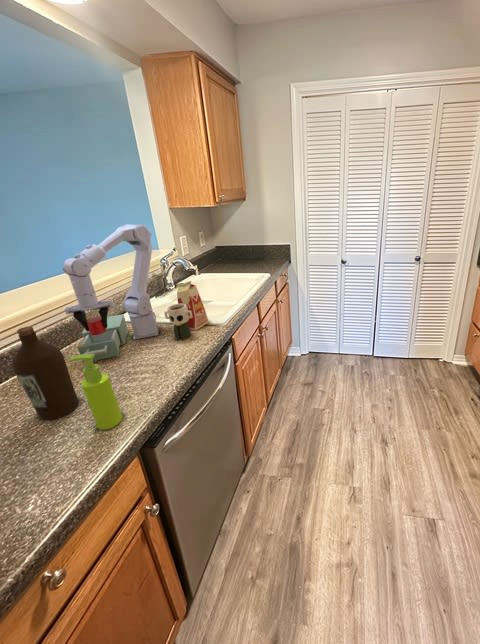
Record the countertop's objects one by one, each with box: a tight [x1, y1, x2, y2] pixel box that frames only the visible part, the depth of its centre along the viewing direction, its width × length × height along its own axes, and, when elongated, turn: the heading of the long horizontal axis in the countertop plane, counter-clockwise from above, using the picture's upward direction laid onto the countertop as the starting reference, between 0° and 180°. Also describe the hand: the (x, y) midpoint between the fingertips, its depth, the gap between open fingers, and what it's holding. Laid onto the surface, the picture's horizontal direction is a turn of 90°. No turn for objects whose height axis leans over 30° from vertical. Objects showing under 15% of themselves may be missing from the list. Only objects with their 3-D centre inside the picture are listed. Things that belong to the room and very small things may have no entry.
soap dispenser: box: [67, 353, 123, 430], centre depth 81 cm, size 6×7×20 cm
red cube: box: [86, 316, 106, 335], centre depth 116 cm, size 5×5×5 cm
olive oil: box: [12, 326, 79, 421], centre depth 86 cm, size 11×11×25 cm
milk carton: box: [175, 280, 210, 331], centre depth 136 cm, size 9×9×20 cm
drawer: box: [77, 329, 121, 363], centre depth 117 cm, size 17×11×6 cm, turn 21°
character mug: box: [163, 303, 193, 340], centre depth 128 cm, size 11×7×13 cm, turn 89°
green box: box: [81, 314, 129, 346], centre depth 129 cm, size 14×13×8 cm
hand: (97, 328), depth 116 cm, fingers closed on red cube, 5 cm apart
